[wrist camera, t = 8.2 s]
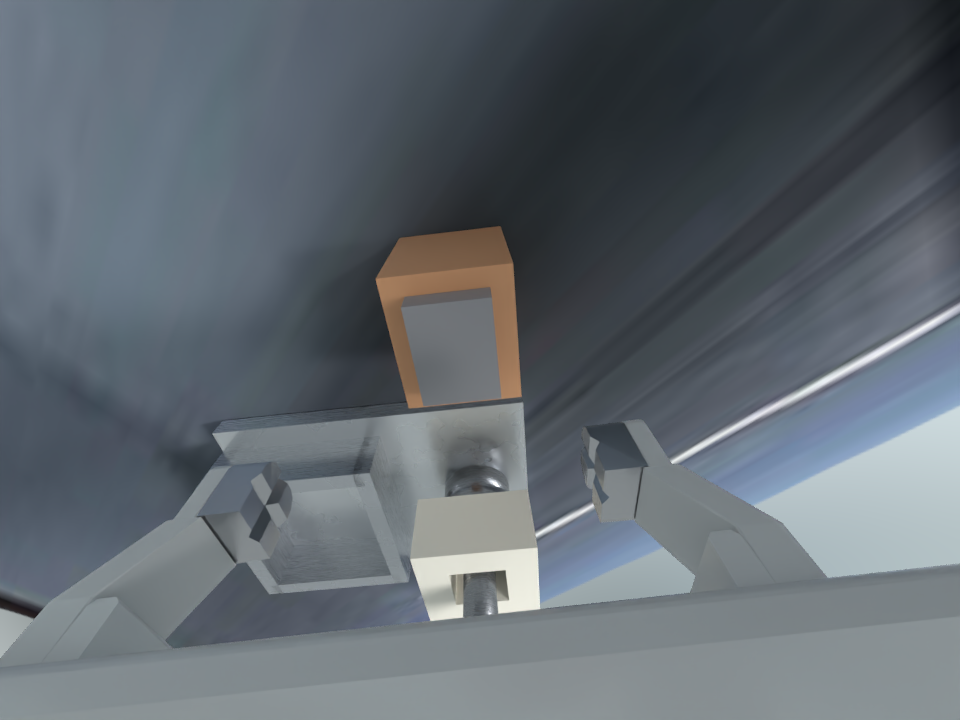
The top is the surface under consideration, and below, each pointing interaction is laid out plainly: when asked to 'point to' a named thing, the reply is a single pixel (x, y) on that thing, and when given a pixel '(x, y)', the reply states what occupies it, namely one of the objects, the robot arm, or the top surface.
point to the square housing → (475, 550)
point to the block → (452, 317)
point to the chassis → (375, 485)
